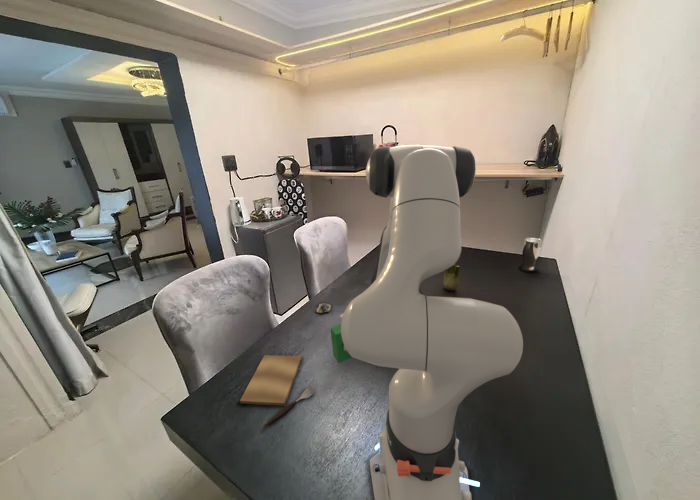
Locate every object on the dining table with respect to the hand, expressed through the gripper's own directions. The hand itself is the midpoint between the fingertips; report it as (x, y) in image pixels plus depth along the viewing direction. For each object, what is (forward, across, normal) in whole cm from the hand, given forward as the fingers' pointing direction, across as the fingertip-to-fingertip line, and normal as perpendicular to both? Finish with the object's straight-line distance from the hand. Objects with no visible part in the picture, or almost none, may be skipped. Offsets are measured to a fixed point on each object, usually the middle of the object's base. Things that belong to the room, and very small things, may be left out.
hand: (339, 342), depth 75 cm
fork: (+17, +6, +9) cm, 20 cm away
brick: (-1, 0, +6) cm, 6 cm away
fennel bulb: (-26, -16, +4) cm, 31 cm away
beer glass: (-103, -6, +8) cm, 103 cm away
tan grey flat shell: (-7, -30, +8) cm, 32 cm away
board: (+19, -5, +8) cm, 21 cm away
